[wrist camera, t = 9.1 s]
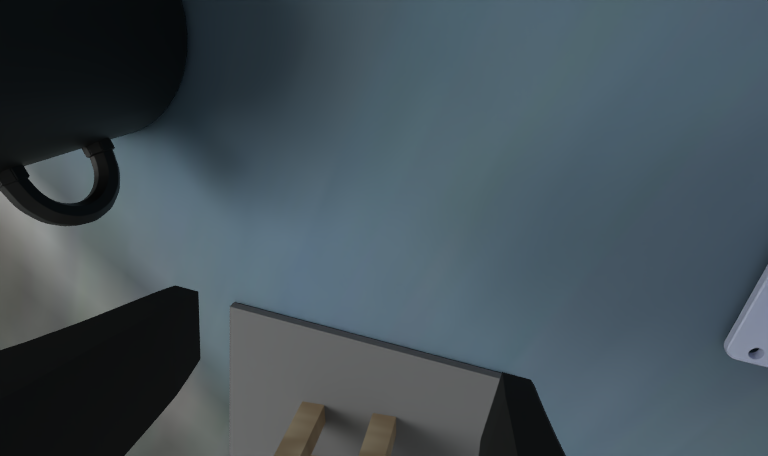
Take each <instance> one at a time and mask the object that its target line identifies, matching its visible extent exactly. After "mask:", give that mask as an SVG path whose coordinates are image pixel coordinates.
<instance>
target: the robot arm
mask: <svg viewBox="0 0 768 456" xmlns="http://www.w3.org/2000/svg"><path fill="white" fill-rule="evenodd" d="M723 346H724V349H725V351H726V352H727V354H728V355H729V356H730V357H731V358H733V359H736V360H740V361H744V362H748V363H752V364H756V365H760V366H764V367H768V265H767V267H766V269H765V270H764V272H763V274H762V276H761V277H760V279H759V281H758V283H757V285H756V286H755V288H754V290H753V292H752V293H751V295H750V297H749V299H748V301H747V302H746V304H745V306H744V308H743V310H742V311H741V313H740V315H739V317H738V318H737V320H736V322H735V324H734V326H733V327H732V329H731V331H730V333H729V334H728V336H727V338H726V340H725V342H724V345H723ZM754 348H759V350H757V351H756V352H753V353H749V351H750V350H751V349H754ZM199 360H200V332H199V300H198V291H194V290H190V289H186V288H183V287H179V286H172V287H169V288H166V289H163V290H161V291H158V292H155V293H153V294H150V295H148V296H145V297H143V298H140V299H138V300H135V301H133V302H130V303H128V304H125V305H123V306H120V307H118V308H115V309H113V310H110V311H108V312H105V313H103V314H100V315H98V316H95V317H92V318H90V319H87V320H85V321H82V322H80V323H77V324H74V325H72V326H69V327H66V328H63V329H61V330H58V331H55V332H52V333H49V334H47V335H44V336H41V337H38V338H36V339H33V340H30V341H27V342H24V343H21V344H18V345H15V346H12V347H9V348H6V349H3V350H0V456H125V454H126V453H127V452H128V451H129V450H130V449H131V448H132V446H133V445H134V444H135V443H136V442H137V441H138V440H139V438H140V437H141V436H142V435H143V434H144V433H145V431H146V430H147V429H148V428H149V427H150V426H151V425H152V423H153V422H154V421H155V420H156V419H157V418H158V416H159V415H160V414H161V413H162V412H163V411H164V409H165V408H166V407H167V406H168V405H169V404H170V402H171V401H172V400H173V399H174V398H175V396H176V395H177V394H178V392H179V391H180V389H181V388H182V386H183V385H184V383H185V382H186V381H187V379H188V377H189V376H190V374H191V373H192V371H193V370H194V368H195V367H196V365H197V363H198V362H199ZM479 456H566V455H565V453H564V451H563V449H562V447H561V445H560V443H559V441H558V439H557V437H556V435H555V432H554V430H553V428H552V426H551V424H550V421H549V419H548V417H547V415H546V412H545V410H544V408H543V405H542V403H541V401H540V398H539V396H538V393H537V391H536V388H535V386H534V384H533V382H532V381H531V380H530V379H526V378H522V377H518V376H515V375H511V374H507V373H503V372H502V374H501V377H500V380H499V383H498V387H497V390H496V393H495V396H494V399H493V402H492V405H491V408H490V411H489V415H488V418H487V421H486V424H485V427H484V430H483V433H482V436H481V440H480V448H479Z"/></svg>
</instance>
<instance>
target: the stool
mask: <svg viewBox="0 0 768 456" xmlns="http://www.w3.org/2000/svg"><path fill="white" fill-rule="evenodd" d="M325 423H326V422H325V409H324V405H322V404H316V403H309V402H303V401H302V403H301V405H300V407H299V409H298V411H297V412H296V414H295V416H294V418H293V420H292V422H291V424H290V426H289V428H288V430H287V431H286V433H285V435H284V437H283V439H282V441H281V443H280V445H279V447H278V448H277V450H276V452H275V454H274V456H315V455H311V454H312V452H313V450H314V447H315V445H316V443H317V441H318V438H319V436H320V434H321V432H322V429H323V427H324V425H325ZM395 437H396V417H394V416H388V415H382V414H376V413H373V414H372V417H371V420H370V423H369V426H368V429H367V432H366V435H365V438H364V441H363V444H362V447H361V450H360V453H359V456H391V452H392V449H393V445H394V441H395Z"/></svg>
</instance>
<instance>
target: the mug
mask: <svg viewBox="0 0 768 456" xmlns="http://www.w3.org/2000/svg"><path fill="white" fill-rule="evenodd" d="M186 57H187V29H186V20H185V14H184V10H183V5H182V1H181V0H0V191H1V192H2V193H3V194H4V195H5V196H6V197H7V199H8V200H9V201H10V202H11V203H12V204H13V205H14V206H15V207H16V208H18V209H19V210H20V211H22V212H23V213H25V214H27V215H29V216H30V217H32V218H34V219H36V220H38V221H41V222H44V223H47V224H52V225H59V226H76V225H82V224H86V223H90V222H93V221H95V220H97V219H99V218H100V217H102V216H103V215H104V214H105V213H107V212H108V211H109V210H110V209H111V207H112V206H113V204H114V202H115V200H116V198H117V195H118V193H119V188H120V172H119V167H118V163H117V161H116V158H115V155H114V152H113V149H114V148H115V147H114V145H113V143H112V141H111V140H110V139H113V138H116V137H119V136H123V135H126V134H129V133H132V132H136V131H138V130H140V129H142V128H144V127H146V126H148V125H149V124H151V123H152V122H153V121H154V120H156V119H157V118H158V117H159V116H160V115H161V114H162V113H163V112H164V110H165V109H166V108H167V107H168V105H169V104H170V102H171V101H172V99H173V98H174V96H175V94H176V92H177V90H178V88H179V86H180V83H181V80H182V77H183V73H184V69H185V63H186ZM81 148H82V150H83V152H84V154H85V155H86V157H88V158H90V160H91V163H92V166H93V169H94V185H93V188H92V190H91V192H90V194H89V195H88V196H87V197H86V198H85V199H84V200H82V201H81V202H77V203H71V204H69V203H60V202H56V201H54V200H52V199H50V198H48V197H47V196H45V195H44V194H42V193H41V192H40V191H39V190H38V189H37V188H36V187H35V186H34V185H33V184H32V183H31V181H30V180H29V179H28V177H29V174H28V172H27V171H26V169H25V167H24V166H26V165H29V164H32V163H36V162H39V161H42V160H45V159H49V158H52V157H55V156H58V155H61V154H65V153H68V152H71V151H74V150H78V149H81Z"/></svg>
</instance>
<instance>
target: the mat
mask: <svg viewBox="0 0 768 456" xmlns="http://www.w3.org/2000/svg"><path fill="white" fill-rule="evenodd" d="M501 374H502V373H499V372H495V371H491V370H487V369H484V368H480V367H476V366H472V365H469V364H465V363H461V362H457V361H453V360H450V359H446V358H442V357H438V356H435V355H431V354H427V353H423V352H420V351H416V350H412V349H408V348H404V347H401V346H397V345H393V344H389V343H386V342H382V341H378V340H374V339H371V338H367V337H363V336H359V335H355V334H352V333H348V332H344V331H340V330H337V329H333V328H329V327H325V326H322V325H318V324H314V323H310V322H306V321H303V320H299V319H295V318H291V317H288V316H284V315H280V314H276V313H273V312H269V311H265V310H261V309H257V308H254V307H250V306H246V305H242V304H239V303H235V302H234V303H233V304H232V305H231V306H230V456H274V454H275V452H276V450H277V448H278V447H279V445H280V443H281V441H282V439H283V437H284V435H285V433H286V431H287V430H288V428H289V426H290V424H291V422H292V420H293V418H294V416H295V414H296V412H297V411H298V409H299V407H300V405H301V403H302V401H303V402H309V403H316V404H322V405H324V409H325V422H326V423H325V425H324V427H323V429H322V432H321V434H320V436H319V438H318V441H317V443H316V445H315V447H314V450H313V452H312V454H311V455H315V456H359V453H360V450H361V447H362V444H363V441H364V438H365V435H366V432H367V429H368V426H369V423H370V420H371V417H372V414H373V413H376V414H382V415H388V416H394V417H396V437H395V441H394V445H393V449H392V452H391V456H479V448H480V440H481V436H482V433H483V430H484V427H485V424H486V421H487V418H488V415H489V411H490V408H491V405H492V402H493V399H494V396H495V393H496V390H497V387H498V383H499V380H500V377H501Z"/></svg>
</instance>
